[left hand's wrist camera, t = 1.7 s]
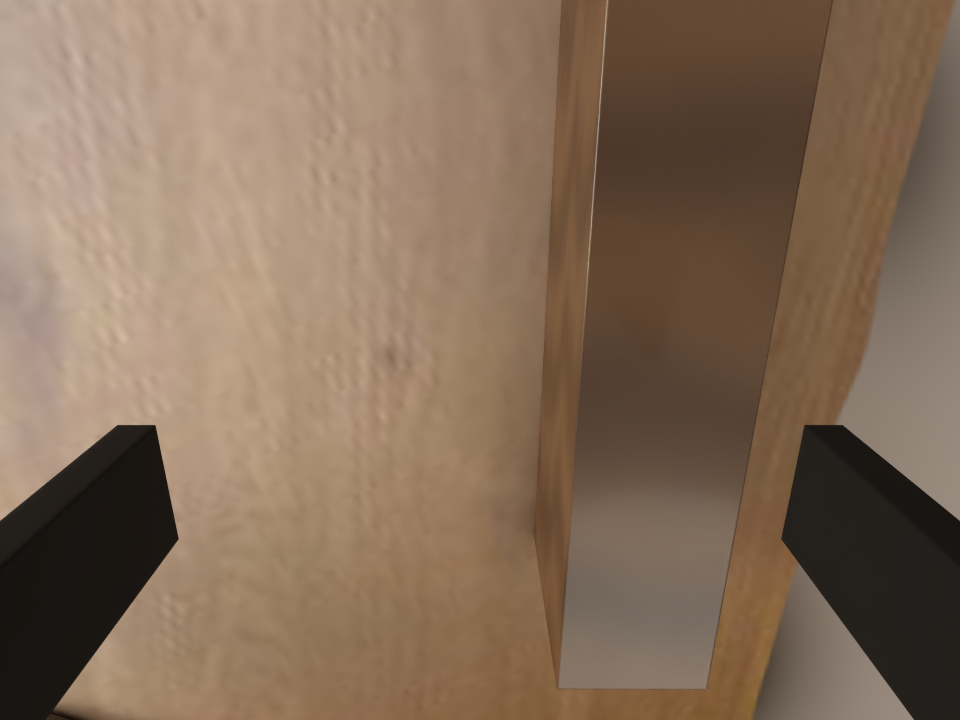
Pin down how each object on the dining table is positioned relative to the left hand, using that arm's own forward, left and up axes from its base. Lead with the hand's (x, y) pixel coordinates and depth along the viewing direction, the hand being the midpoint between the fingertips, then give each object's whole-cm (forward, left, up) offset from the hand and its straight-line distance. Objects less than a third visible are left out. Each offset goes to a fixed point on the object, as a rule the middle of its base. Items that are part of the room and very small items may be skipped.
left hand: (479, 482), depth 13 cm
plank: (+12, -3, -14) cm, 19 cm away
